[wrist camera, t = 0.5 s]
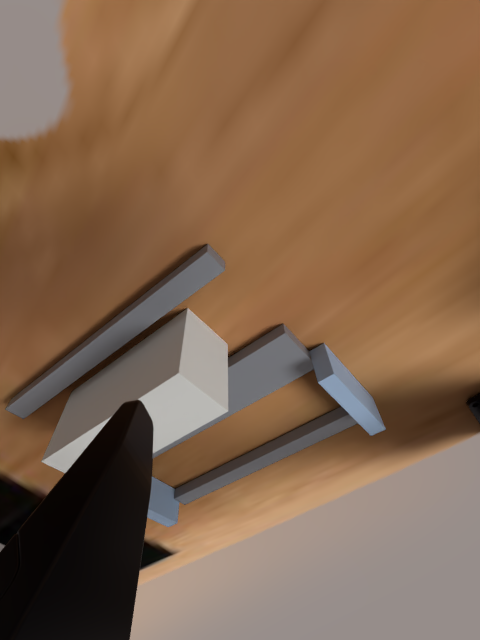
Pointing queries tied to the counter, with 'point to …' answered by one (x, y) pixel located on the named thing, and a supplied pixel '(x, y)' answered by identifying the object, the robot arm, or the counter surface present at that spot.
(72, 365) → the grey long bars
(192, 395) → the white rectangular prism
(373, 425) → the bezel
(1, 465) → the counter surface
